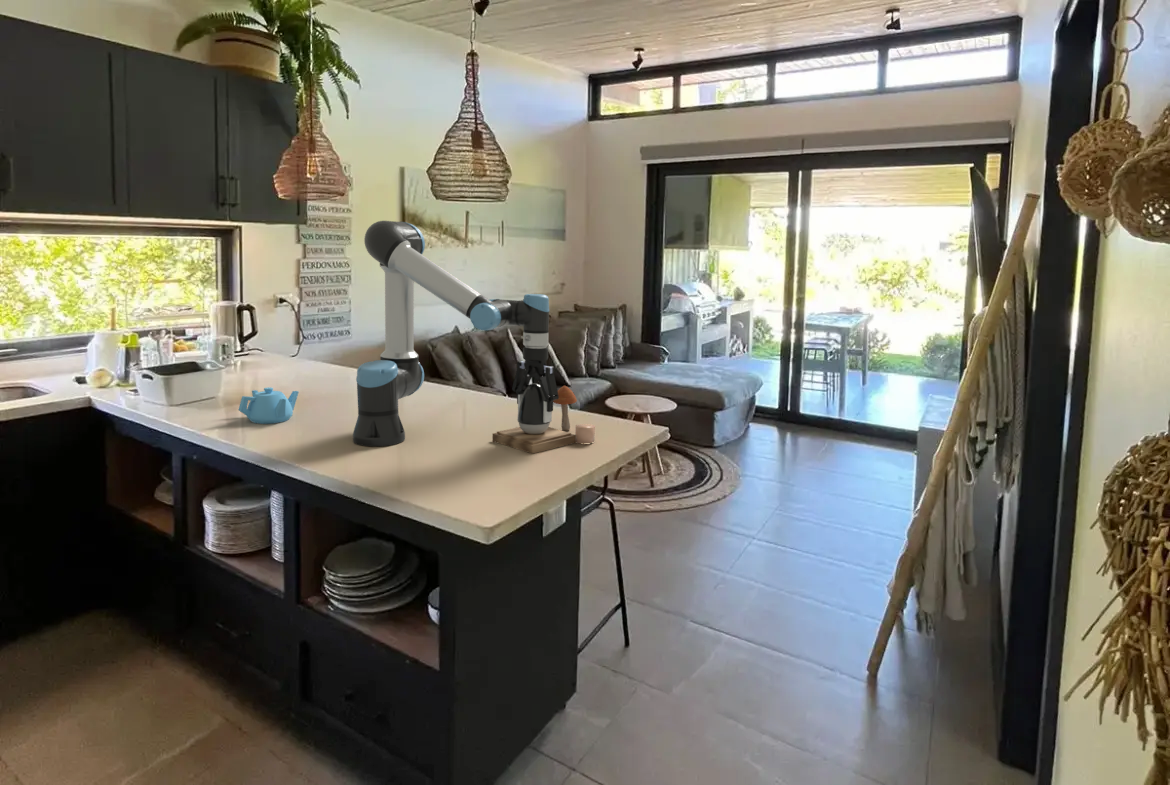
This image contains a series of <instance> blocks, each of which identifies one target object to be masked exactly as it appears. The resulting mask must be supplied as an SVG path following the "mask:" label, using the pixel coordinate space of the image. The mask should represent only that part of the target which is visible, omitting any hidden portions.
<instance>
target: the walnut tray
mask: <svg viewBox="0 0 1170 785" xmlns="http://www.w3.org/2000/svg"><path fill="white" fill-rule="evenodd" d="M491 441H492V442H494V443H498V444H500V445H504V446H507V447H510V448H514V449H517V450H520V451H522V452H527V453H529V454H537V453H541V452H544V451H549V450H552V449H556V448H561V447H564V445H565V446H568V444H569V445H572V444H571V443H573V444H576V443H575V442H576V435H575V434H573V433H572V432H568V431H562V429H561V430H560V429H558V428H553V427H550V426H549V427H548V429H547V430H546V431H545V432H543V433H541V434H528V433H525V432H524V431H522V429H521V428H520V426H516V427H513V428H508V429H503V430H500V431H496V432H493V433H492V440H491Z"/></svg>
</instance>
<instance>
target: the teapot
mask: <svg viewBox="0 0 1170 785" xmlns="http://www.w3.org/2000/svg"><path fill="white" fill-rule="evenodd" d="M299 393H300V392H299V390H292V392H291V393H290V395H289V396H288V397H287V396H286V395H285V393H283V392H282V391H280V390H274V387H272V386H271V387H270V386H269V387H264V388H263V391H258V390H257V389H253V390H251V394H252V396H246V395H242V396H241V400H240V402H239V407H238V411H239V412H241V413H242V414H244V415H245V416H246V417H247V419H248V420H249V421H250V422H252V423H254V424H261V425H270V424H278V423H279V424H280V423H284V422H287V421H288V420H290V418H291V417H292V416H293V414H294V410H295V406H296V402H297V399H298V396H299Z"/></svg>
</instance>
